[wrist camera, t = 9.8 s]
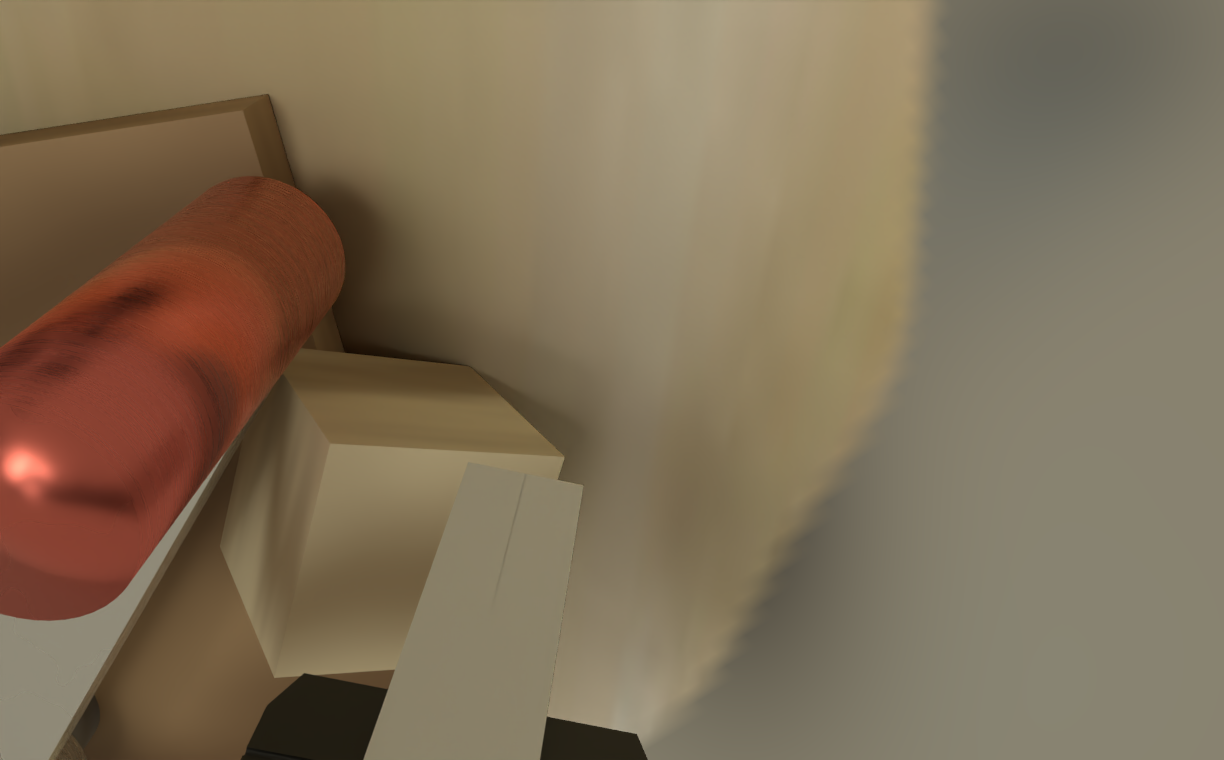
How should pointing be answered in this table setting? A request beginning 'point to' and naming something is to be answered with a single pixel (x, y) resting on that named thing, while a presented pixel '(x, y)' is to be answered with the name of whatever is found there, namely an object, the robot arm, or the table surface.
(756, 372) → the table surface
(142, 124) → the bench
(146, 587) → the lever
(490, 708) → the robot arm
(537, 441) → the block
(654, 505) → the table surface
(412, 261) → the table surface
